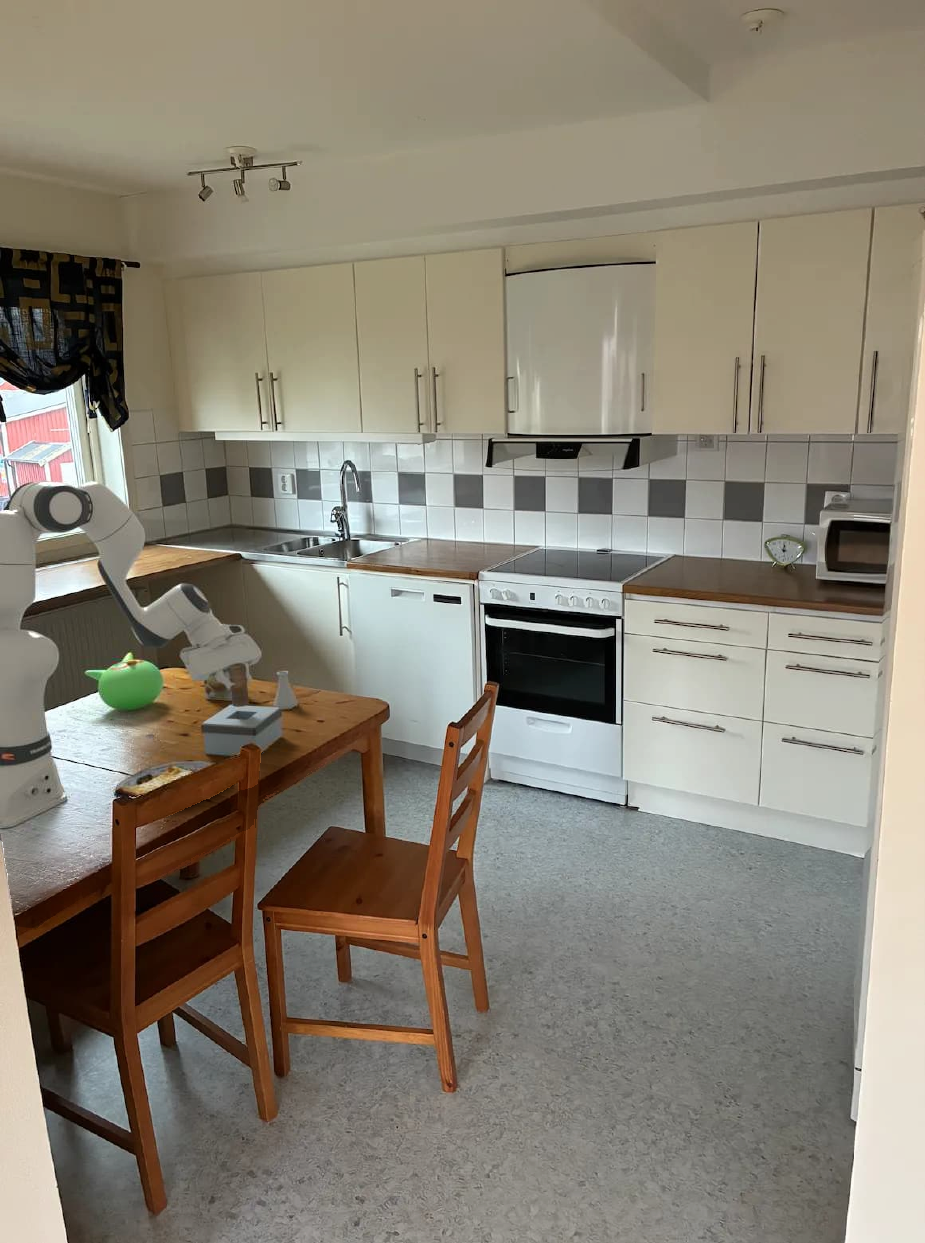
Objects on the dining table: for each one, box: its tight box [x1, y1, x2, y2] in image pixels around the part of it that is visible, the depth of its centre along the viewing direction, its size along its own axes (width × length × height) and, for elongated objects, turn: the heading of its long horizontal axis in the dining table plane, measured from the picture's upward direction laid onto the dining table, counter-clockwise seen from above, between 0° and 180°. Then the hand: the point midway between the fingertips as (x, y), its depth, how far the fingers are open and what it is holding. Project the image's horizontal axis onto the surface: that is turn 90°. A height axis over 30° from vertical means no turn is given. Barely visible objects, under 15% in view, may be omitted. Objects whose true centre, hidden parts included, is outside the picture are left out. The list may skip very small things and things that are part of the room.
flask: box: [272, 670, 299, 711], centre depth 265 cm, size 7×7×10 cm
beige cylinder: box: [229, 663, 250, 707], centre depth 234 cm, size 4×4×10 cm
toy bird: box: [84, 652, 164, 711], centre depth 268 cm, size 18×17×15 cm
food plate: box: [113, 760, 215, 799], centre depth 212 cm, size 25×23×4 cm
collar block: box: [200, 704, 283, 757], centre depth 236 cm, size 14×14×8 cm
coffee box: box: [203, 672, 232, 702], centre depth 275 cm, size 9×6×16 cm
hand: (240, 683), depth 233 cm, fingers closed on beige cylinder, 4 cm apart
